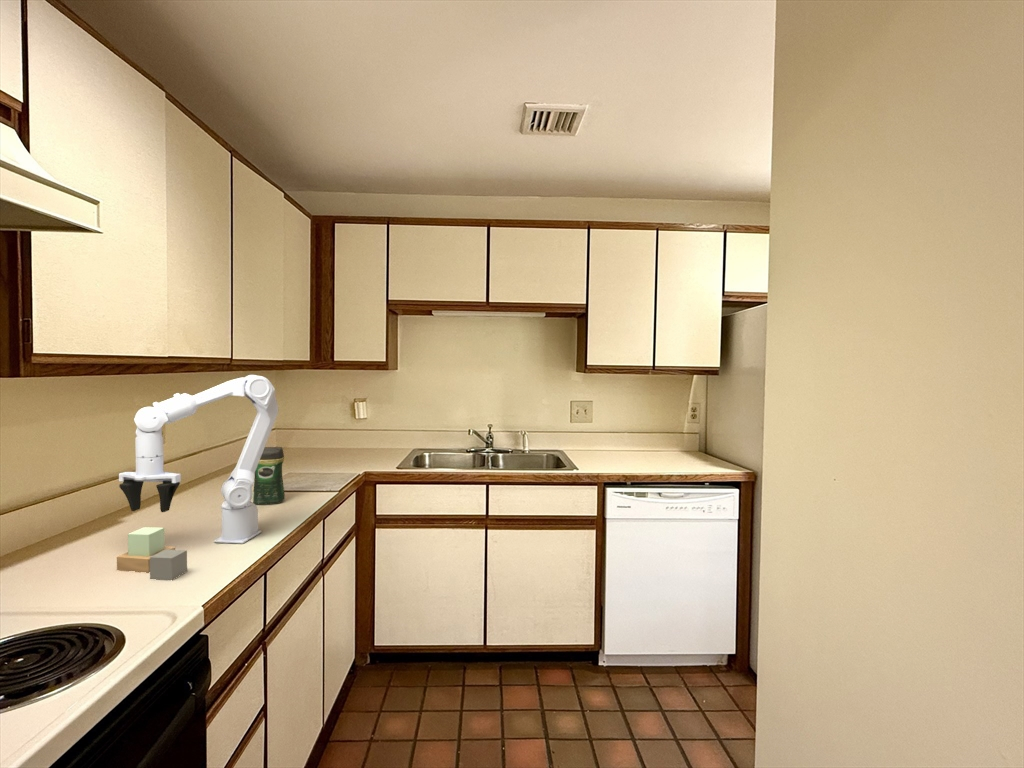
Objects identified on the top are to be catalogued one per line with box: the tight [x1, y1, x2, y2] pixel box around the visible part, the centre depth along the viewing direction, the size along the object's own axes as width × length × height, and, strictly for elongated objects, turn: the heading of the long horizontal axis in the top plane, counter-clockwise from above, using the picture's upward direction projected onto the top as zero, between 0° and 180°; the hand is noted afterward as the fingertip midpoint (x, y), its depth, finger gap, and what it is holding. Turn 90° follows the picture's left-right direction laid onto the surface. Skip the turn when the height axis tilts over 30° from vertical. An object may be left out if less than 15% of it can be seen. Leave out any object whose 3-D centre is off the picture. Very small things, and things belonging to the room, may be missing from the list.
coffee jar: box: [252, 446, 286, 505], centre depth 183 cm, size 10×8×19 cm
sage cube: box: [127, 526, 165, 556], centre depth 127 cm, size 5×5×5 cm
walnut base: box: [116, 546, 176, 574], centre depth 127 cm, size 8×8×4 cm
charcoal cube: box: [149, 549, 188, 581], centre depth 121 cm, size 5×5×5 cm
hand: (150, 510), depth 135 cm, fingers open, 7 cm apart
